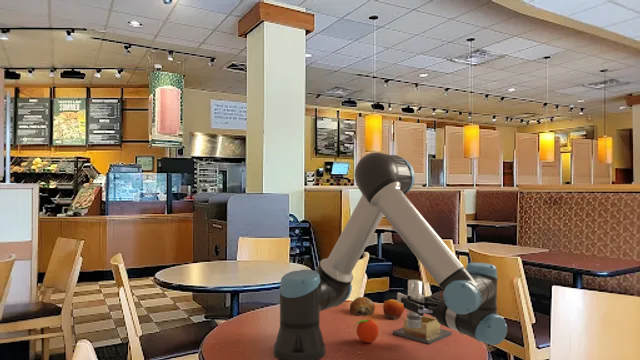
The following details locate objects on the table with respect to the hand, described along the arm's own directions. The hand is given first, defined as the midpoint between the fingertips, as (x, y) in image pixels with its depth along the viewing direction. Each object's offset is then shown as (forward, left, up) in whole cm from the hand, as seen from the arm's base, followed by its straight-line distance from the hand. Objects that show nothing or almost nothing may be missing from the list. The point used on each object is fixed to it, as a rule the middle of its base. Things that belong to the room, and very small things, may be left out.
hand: (404, 296), depth 143 cm
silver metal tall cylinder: (-2, -5, -8) cm, 10 cm away
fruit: (+19, +18, -14) cm, 30 cm away
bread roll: (+16, +31, -14) cm, 38 cm away
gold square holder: (+9, -1, -14) cm, 17 cm away
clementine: (-11, +7, -14) cm, 19 cm away
